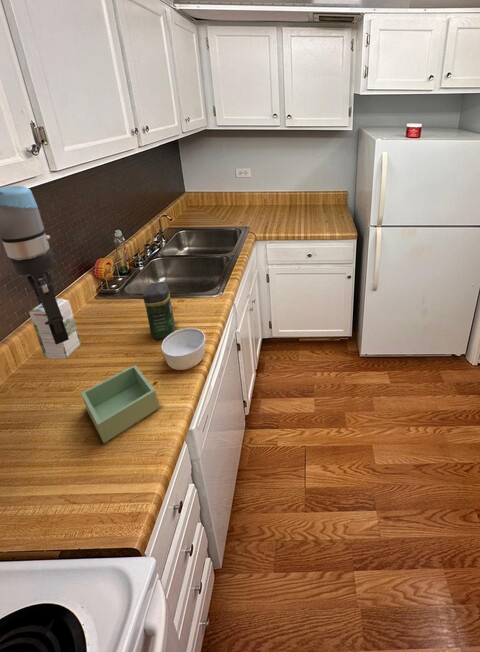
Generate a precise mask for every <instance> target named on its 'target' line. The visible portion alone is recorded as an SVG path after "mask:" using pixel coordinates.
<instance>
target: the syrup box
mask: <svg viewBox="0 0 480 652" xmlns="http://www.w3.org/2000/svg"><path fill="white" fill-rule="evenodd" d="M56 301H57V304H58V307H59V309H60V312H61V315H62V316H63V323H64V326H65V329H66V332H67V335H68V338H69V340H66V341H64V342H62V343H59V344H57V345H56V344H55V341H54V338H53V336H52V333H51V330H50V327H49V324H47V325H45V322H47V321H48V319H47V316H46V313H45V311H44V308H43V305H42V303H41V304H40V305H39V304H38V305H37V306H36V307H33V308H32V309H31V310H30V311H29V312H28V313H29V316H30V319H31V322H32V325H33V327H34V331H35V333H36V336H37V339H38V342H39V346H40V349H41V351H42V353H43V356H44V358H45V359H54V360H67V359H68V358H69V357H70V356H71V355H72V354H73V353H74V352H75V351H76V350H78V348H79V347H80V346H81V345H82V342H81V338H80V335H79V331H78V328H77V325H76V321H75V317H74V313H73V311H72V307H71V304H70V301H69V299H64V298H56Z"/></svg>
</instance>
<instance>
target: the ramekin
mask: <svg viewBox="0 0 480 652" xmlns="http://www.w3.org/2000/svg"><path fill="white" fill-rule="evenodd" d="M206 341H207V340H206V334H205V332H204V331H203V330H202V329H199V328H196V327H185V328H180V329H178V330H174V332H173V333H171V334H170V335H168V336H167V337H166V338H163V341H162V343H161V345H160V349H161V353H162V355H163V357H164V360H165V363H166V364H167V366H169V367H170V368H171V369H173V370H176V371H185V370H188V369H192V368H194V367H195V366H197V365H199V364H200V362H201V361H202V360H203V359H204V358H205V357H204V356H205V354H206Z"/></svg>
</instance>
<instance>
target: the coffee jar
mask: <svg viewBox="0 0 480 652" xmlns="http://www.w3.org/2000/svg"><path fill="white" fill-rule="evenodd" d="M142 297H143V303H144V307H145V311H146V317H147V320H148V326H149V331H150V336H151V338H152V339H155V340H161V339H162V340H164V339H165V338H166V337H167V336H168V335H170V334H171V333H173V332H175V328H176V321H175V317H174V311H173V306H172V300H171V295H170V289H169V285H168V284H167V283H166V282H164V281H158V282H157V281H156V282H151V283H150V284H148V285H147V286H146V287H145V289H144V291H143V295H142Z"/></svg>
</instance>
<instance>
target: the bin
mask: <svg viewBox="0 0 480 652" xmlns="http://www.w3.org/2000/svg"><path fill="white" fill-rule="evenodd" d="M80 394H81V397H82V400H83V403H84V406H85V409H86V411H87V414H88V415H89V418H90V420H91V421H92V423H93V426H94V428H95V429H96V431H97V433H98V435H99V437H100V439H101V441H102V443H103V444H105V443H107V442H109V441H110V440H112V439H113V438H115V437H116V436H118V435H120V434H121V433H122V432H125V431H126V430H127V429H130V427H132V426H133V425H135V424H137V423H139V422H140V421H141V420H143V419H144V418H146V417H148V416H149V415H151V414H152V413H154V412H156V411H157V410H159V409H160V405H159V400H158V397H157V396H158V395H157V391H156V390H155V388H154V387H153V386H152V384H151V383H150V382H149V380H148V379H147V378H146V377H145V375H144V374H143V373H142V371H141V370H140V369H139V368H138V366H137V365H136V364H134V365H132V366H130V367H128V368H125V369H124V370H122V371H120V372H118V373H116V374H114V375H113V376H110V377H109V378H107V379H104V380H103V381H101V382H99V383H97V384H95V385H93V386H91V387H89V388H88V389H85V390H84V391H81V392H80Z"/></svg>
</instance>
